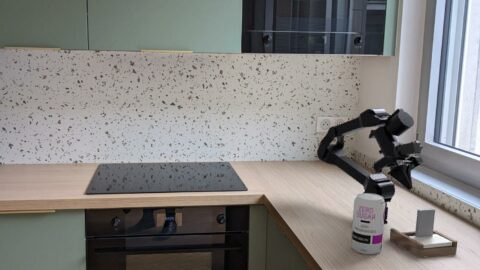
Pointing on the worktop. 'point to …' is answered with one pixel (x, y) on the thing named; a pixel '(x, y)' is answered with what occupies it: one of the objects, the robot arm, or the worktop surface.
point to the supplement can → (368, 223)
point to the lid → (428, 230)
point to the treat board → (417, 247)
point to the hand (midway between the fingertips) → (410, 189)
